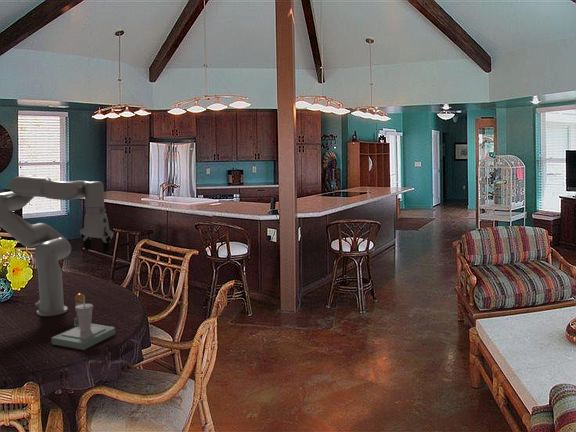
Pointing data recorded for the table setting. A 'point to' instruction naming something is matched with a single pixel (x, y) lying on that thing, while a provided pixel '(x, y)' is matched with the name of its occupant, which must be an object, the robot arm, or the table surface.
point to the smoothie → (84, 315)
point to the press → (83, 336)
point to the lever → (78, 301)
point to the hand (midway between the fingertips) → (97, 250)
